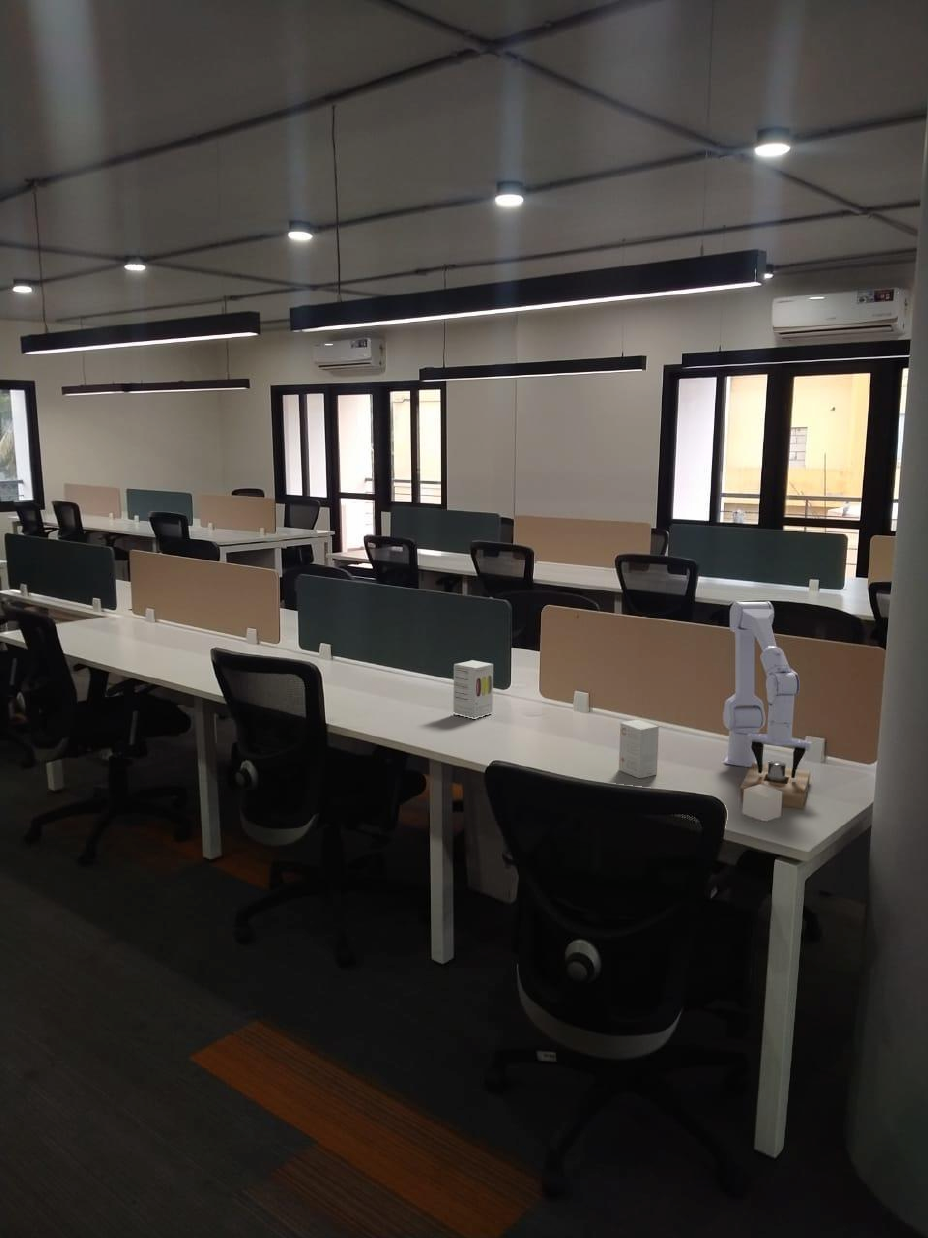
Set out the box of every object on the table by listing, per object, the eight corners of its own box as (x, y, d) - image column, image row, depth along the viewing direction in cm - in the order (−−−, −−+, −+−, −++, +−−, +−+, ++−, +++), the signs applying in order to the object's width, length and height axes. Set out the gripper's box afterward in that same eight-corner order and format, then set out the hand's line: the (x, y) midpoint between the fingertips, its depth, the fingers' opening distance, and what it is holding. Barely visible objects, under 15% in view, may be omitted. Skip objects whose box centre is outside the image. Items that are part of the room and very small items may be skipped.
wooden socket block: (751, 774, 231) (752, 763, 230) (809, 782, 225) (810, 771, 225) (739, 799, 213) (740, 787, 213) (801, 809, 207) (802, 796, 207)
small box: (657, 775, 230) (659, 726, 228) (639, 779, 227) (641, 729, 225) (635, 766, 237) (637, 718, 235) (617, 770, 234) (619, 722, 231)
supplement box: (474, 720, 279) (474, 668, 276) (452, 715, 285) (452, 663, 282) (493, 714, 286) (494, 663, 284) (471, 709, 292) (472, 659, 290)
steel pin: (767, 787, 222) (769, 760, 220) (784, 789, 220) (786, 762, 219) (765, 792, 218) (767, 764, 217) (782, 794, 216) (784, 767, 215)
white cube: (758, 808, 208) (760, 784, 207) (780, 816, 203) (782, 791, 202) (742, 814, 204) (743, 789, 203) (764, 822, 199) (766, 797, 198)
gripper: (746, 721, 216) (743, 774, 218) (810, 728, 210) (806, 784, 212) (751, 714, 222) (747, 766, 224) (813, 721, 216) (809, 775, 218)
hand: (776, 774), depth 218 cm, fingers open, 7 cm apart
